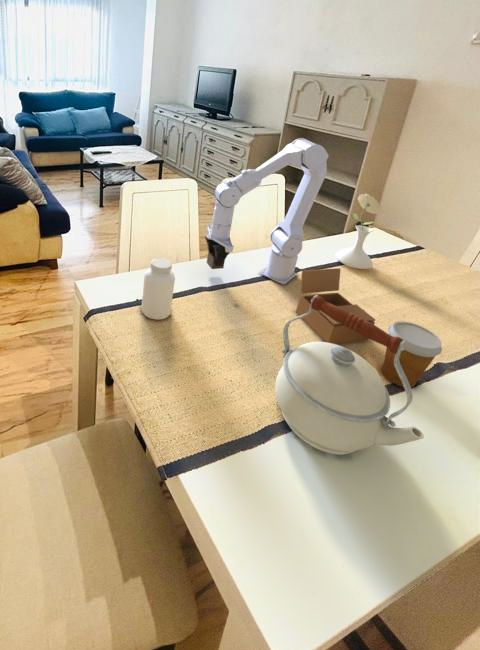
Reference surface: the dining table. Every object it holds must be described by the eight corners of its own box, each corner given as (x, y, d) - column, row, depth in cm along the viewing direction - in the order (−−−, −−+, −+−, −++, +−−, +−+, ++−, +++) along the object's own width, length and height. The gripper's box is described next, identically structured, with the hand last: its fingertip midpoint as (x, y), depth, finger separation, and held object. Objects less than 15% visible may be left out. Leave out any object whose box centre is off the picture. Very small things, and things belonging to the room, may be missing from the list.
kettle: (244, 403, 78) (268, 300, 68) (293, 365, 88) (321, 272, 79) (377, 517, 59) (436, 398, 50) (420, 453, 70) (476, 344, 60)
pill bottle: (174, 307, 106) (180, 260, 100) (164, 324, 99) (171, 274, 94) (147, 299, 109) (152, 252, 103) (136, 314, 102) (140, 265, 96)
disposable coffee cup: (414, 367, 90) (433, 326, 85) (430, 399, 81) (452, 355, 77) (369, 356, 92) (384, 315, 88) (379, 386, 84) (397, 342, 79)
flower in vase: (378, 273, 130) (403, 204, 121) (345, 271, 130) (366, 202, 120) (356, 254, 142) (377, 190, 133) (326, 252, 142) (344, 189, 133)
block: (206, 262, 124) (208, 251, 122) (217, 262, 125) (219, 251, 123) (211, 269, 120) (213, 258, 119) (223, 268, 121) (225, 257, 120)
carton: (295, 312, 107) (300, 293, 105) (332, 308, 110) (338, 289, 107) (327, 344, 95) (334, 324, 93) (368, 339, 98) (376, 319, 96)
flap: (301, 293, 105) (300, 293, 105) (338, 290, 107) (337, 290, 108) (302, 271, 104) (301, 270, 104) (340, 268, 106) (339, 268, 107)
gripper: (200, 213, 123) (195, 251, 128) (220, 233, 109) (213, 274, 115) (220, 212, 124) (214, 250, 129) (242, 232, 111) (235, 273, 116)
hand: (215, 261), depth 122 cm, fingers closed on block, 4 cm apart
